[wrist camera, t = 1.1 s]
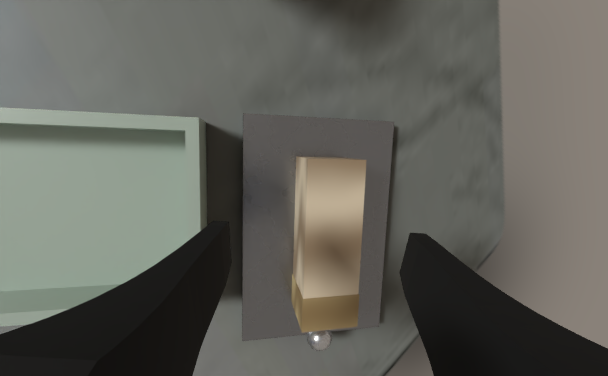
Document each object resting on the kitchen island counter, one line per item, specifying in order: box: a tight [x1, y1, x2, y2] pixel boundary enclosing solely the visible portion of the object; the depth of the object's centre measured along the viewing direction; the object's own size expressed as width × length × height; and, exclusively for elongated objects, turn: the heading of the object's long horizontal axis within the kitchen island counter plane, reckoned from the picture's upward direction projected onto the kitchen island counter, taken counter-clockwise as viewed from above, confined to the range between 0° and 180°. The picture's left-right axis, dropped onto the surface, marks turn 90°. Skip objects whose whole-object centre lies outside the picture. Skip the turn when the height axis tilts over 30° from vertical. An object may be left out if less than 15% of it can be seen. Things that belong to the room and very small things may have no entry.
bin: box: [0, 108, 207, 327], centre depth 19 cm, size 13×19×4 cm
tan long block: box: [291, 156, 367, 333], centre depth 22 cm, size 12×4×4 cm, turn 178°
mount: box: [242, 113, 394, 351], centre depth 23 cm, size 18×12×4 cm, turn 178°
